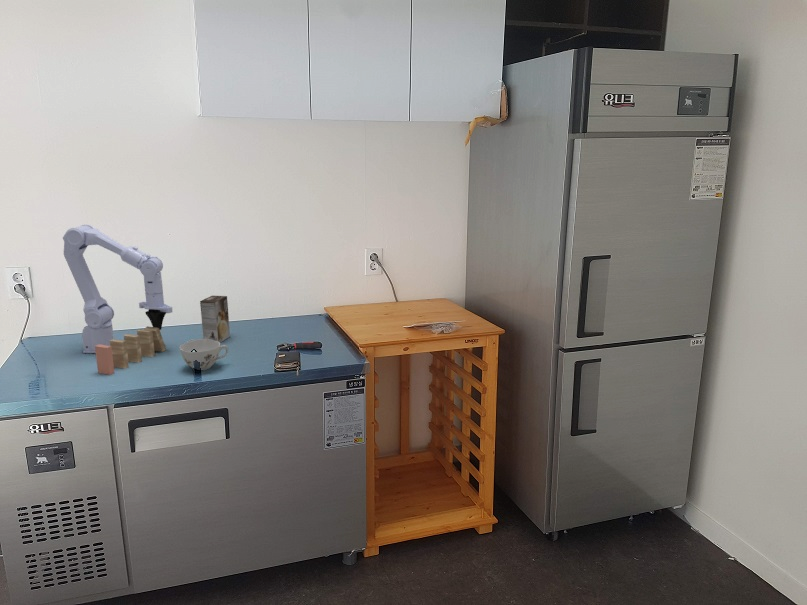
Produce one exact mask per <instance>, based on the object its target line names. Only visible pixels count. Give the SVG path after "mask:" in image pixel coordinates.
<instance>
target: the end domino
mask: <svg viewBox="0 0 807 605" xmlns="http://www.w3.org/2000/svg"><path fill="white" fill-rule="evenodd" d="M95 352H96V353H95V358H96V366H97V373H98V374H104V375H109V376H111V375H113V374H115V372H116V371H115V367H114V364H113V356H112V347H111V346H106V345H100V344H99V345H96V346H95Z"/></svg>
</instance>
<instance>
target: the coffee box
mask: <svg viewBox="0 0 807 605" xmlns="http://www.w3.org/2000/svg"><path fill="white" fill-rule="evenodd" d="M199 304H200V305H199V306H200V316H201V327H202V328H201V330H202V339H212V340H215V341H217V342H219V343H220V344H221V343H223V342H224V341H225V340H227V339H229V338H230V337H231V332H230V330H231V329H230V319H229V318H230V317H229V307H228V306H229V302H228V296H226V295H211V296H209V297H205V298H204V299H202V300H200V301H199Z"/></svg>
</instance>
